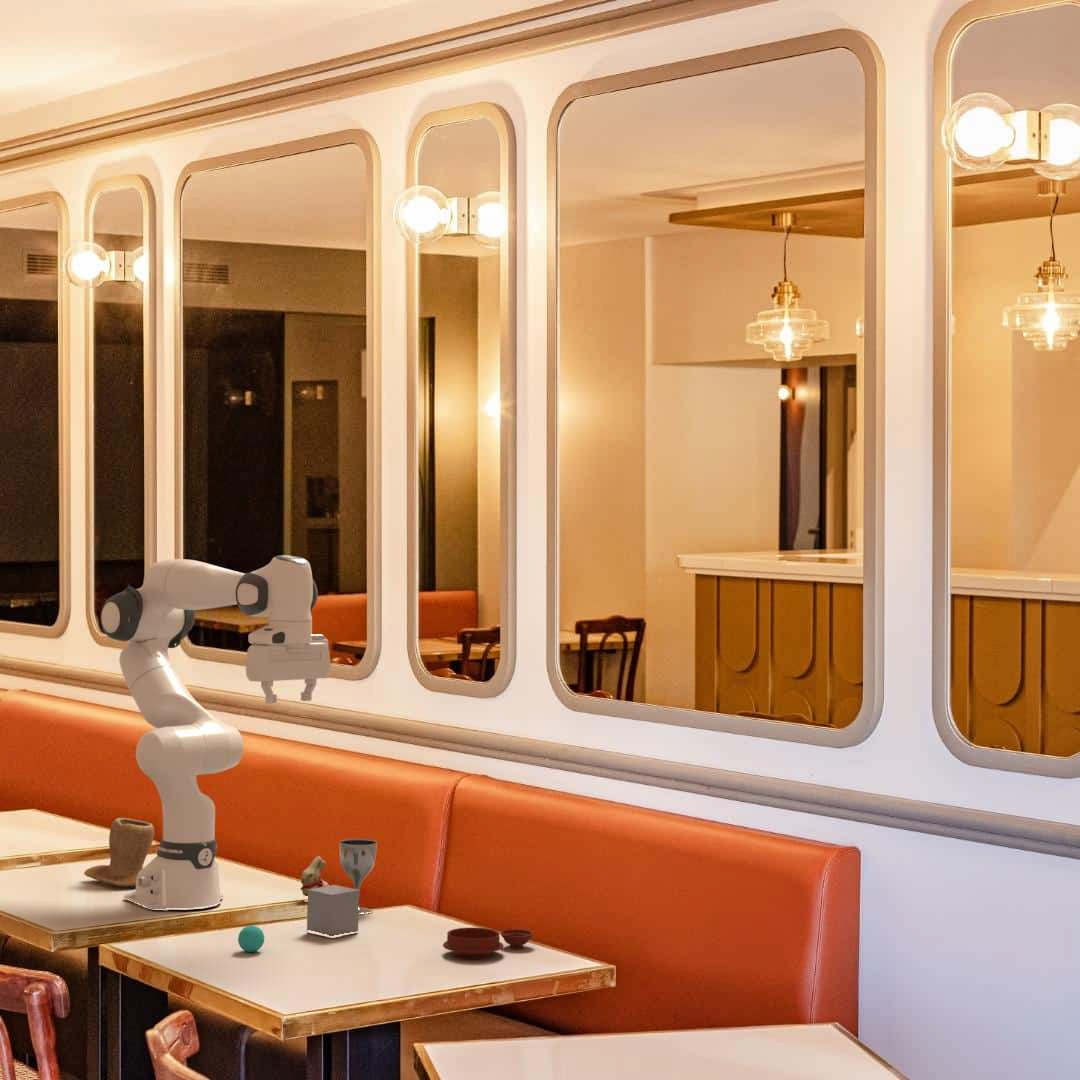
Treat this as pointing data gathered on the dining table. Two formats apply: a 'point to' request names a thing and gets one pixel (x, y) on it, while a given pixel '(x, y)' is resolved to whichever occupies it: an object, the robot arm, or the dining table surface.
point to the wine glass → (358, 861)
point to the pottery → (483, 941)
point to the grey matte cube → (333, 910)
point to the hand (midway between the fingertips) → (288, 702)
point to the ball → (251, 938)
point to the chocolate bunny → (313, 876)
